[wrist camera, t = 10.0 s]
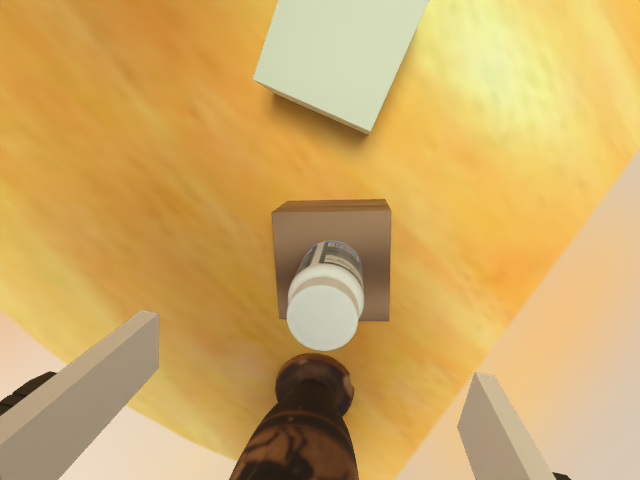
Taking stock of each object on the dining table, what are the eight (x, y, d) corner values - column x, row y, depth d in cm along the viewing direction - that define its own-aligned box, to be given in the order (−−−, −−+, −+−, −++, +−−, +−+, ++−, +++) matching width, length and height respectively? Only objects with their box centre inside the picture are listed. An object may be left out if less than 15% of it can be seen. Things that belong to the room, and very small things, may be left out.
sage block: (313, -21, 27) (300, -68, 21) (416, 25, 27) (432, -9, 21) (273, 93, 29) (252, 79, 23) (368, 135, 29) (370, 131, 23)
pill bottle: (316, 303, 27) (298, 367, 19) (293, 251, 26) (264, 296, 18) (371, 284, 26) (377, 344, 18) (349, 230, 25) (346, 267, 17)
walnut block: (287, 201, 32) (271, 212, 26) (385, 199, 30) (391, 210, 25) (292, 290, 34) (279, 318, 28) (383, 291, 33) (389, 321, 27)
